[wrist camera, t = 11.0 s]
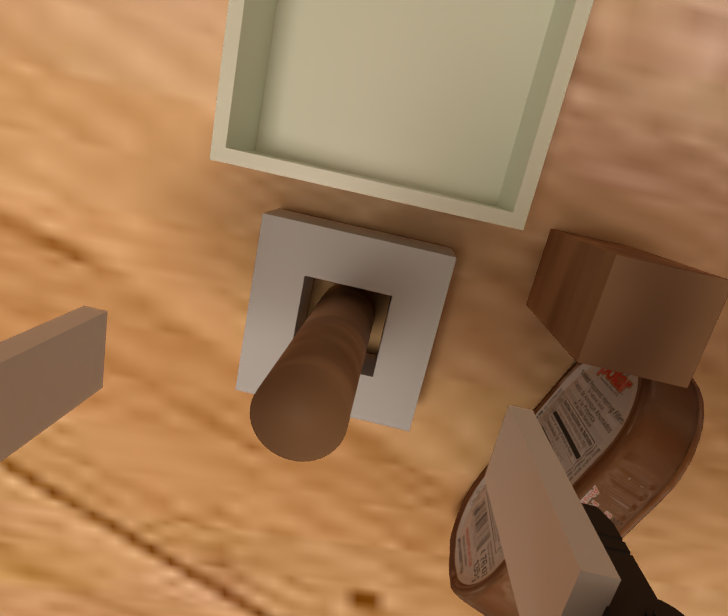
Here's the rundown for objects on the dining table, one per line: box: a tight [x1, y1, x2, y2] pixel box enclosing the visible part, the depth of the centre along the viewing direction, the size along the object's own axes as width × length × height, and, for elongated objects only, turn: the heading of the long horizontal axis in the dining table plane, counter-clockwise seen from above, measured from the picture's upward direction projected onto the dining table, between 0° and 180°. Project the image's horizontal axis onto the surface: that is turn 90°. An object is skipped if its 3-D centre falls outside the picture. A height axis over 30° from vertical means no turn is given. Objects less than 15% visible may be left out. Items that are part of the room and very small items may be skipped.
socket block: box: [236, 209, 457, 431], centre depth 25 cm, size 9×9×3 cm
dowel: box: [250, 284, 375, 462], centre depth 21 cm, size 3×3×12 cm
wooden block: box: [527, 229, 728, 388], centre depth 21 cm, size 4×4×8 cm
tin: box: [449, 363, 704, 616], centre depth 23 cm, size 15×3×8 cm, turn 148°
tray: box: [210, 0, 594, 230], centre depth 20 cm, size 13×13×5 cm
